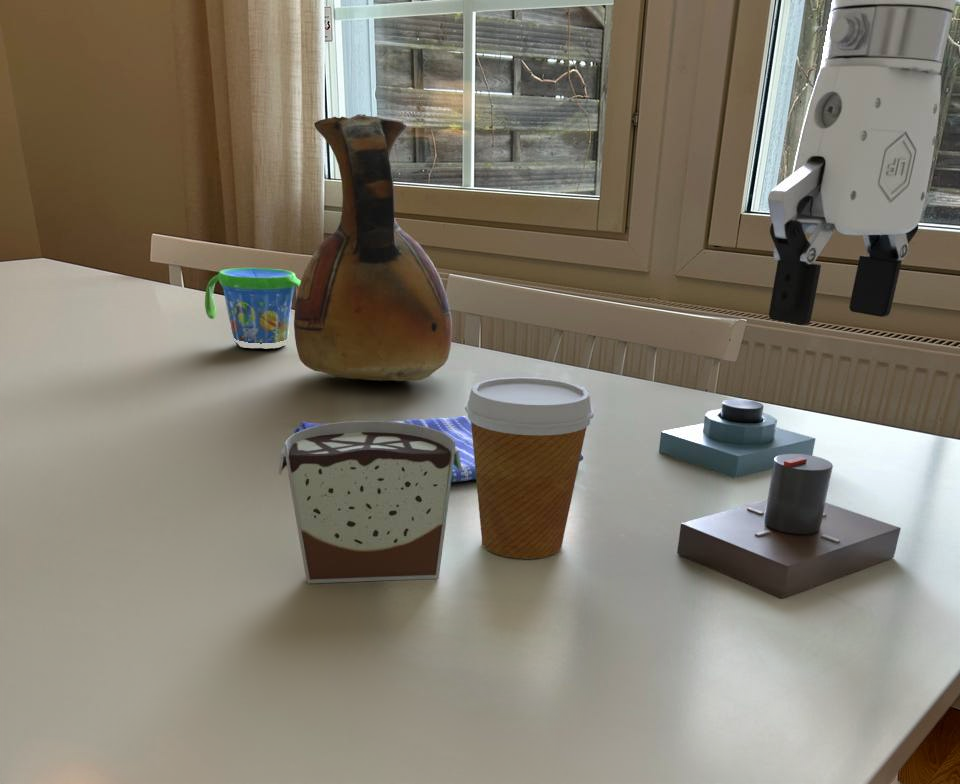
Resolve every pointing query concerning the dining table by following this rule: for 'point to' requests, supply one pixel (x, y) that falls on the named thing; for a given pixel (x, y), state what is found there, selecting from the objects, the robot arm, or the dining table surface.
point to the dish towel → (452, 427)
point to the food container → (370, 499)
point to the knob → (797, 493)
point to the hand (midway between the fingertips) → (830, 317)
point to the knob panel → (786, 547)
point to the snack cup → (255, 302)
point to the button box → (733, 444)
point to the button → (741, 411)
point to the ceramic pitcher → (370, 273)
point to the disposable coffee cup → (526, 460)
